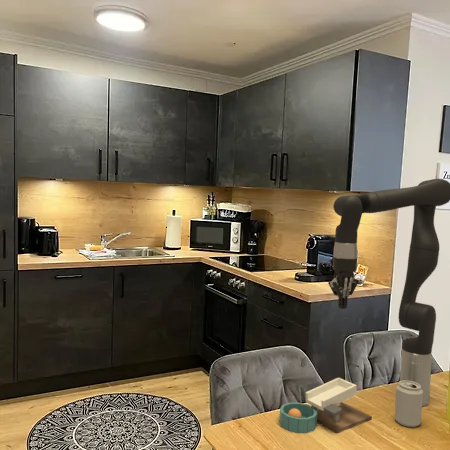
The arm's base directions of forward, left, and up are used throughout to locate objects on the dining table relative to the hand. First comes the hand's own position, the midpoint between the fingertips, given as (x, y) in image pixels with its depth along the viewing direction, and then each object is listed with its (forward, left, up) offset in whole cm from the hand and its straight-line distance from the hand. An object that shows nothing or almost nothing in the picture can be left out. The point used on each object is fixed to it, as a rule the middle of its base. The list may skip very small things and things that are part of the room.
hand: (342, 308), depth 152 cm
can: (-6, +22, -31) cm, 39 cm away
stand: (+10, +8, -31) cm, 33 cm away
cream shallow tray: (+11, +9, -25) cm, 29 cm away
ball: (+25, +5, -28) cm, 38 cm away
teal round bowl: (+24, +5, -31) cm, 39 cm away
